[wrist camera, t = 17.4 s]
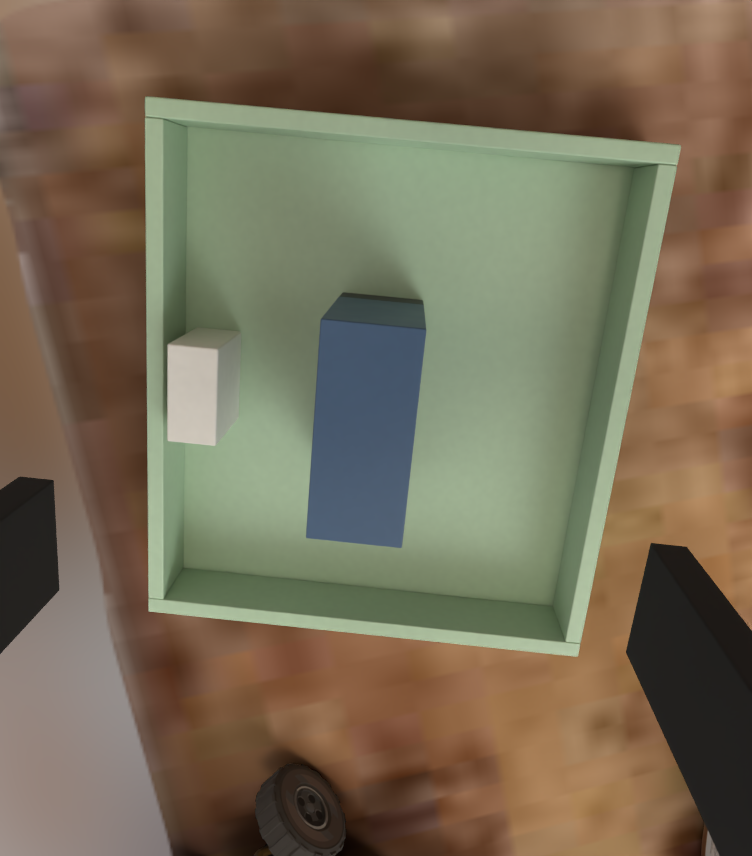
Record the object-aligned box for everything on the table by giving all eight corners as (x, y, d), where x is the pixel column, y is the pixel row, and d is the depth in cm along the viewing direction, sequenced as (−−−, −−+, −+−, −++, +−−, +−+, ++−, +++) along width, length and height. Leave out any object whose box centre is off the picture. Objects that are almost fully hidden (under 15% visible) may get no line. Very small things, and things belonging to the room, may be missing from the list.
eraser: (342, 291, 31) (320, 318, 24) (423, 299, 31) (426, 328, 23) (328, 466, 33) (305, 538, 26) (404, 474, 33) (402, 548, 26)
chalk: (241, 331, 31) (196, 326, 31) (218, 348, 28) (166, 343, 28) (238, 418, 33) (195, 413, 33) (216, 446, 29) (166, 441, 29)
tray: (175, 108, 29) (144, 95, 26) (650, 151, 29) (682, 144, 26) (173, 572, 36) (148, 611, 32) (562, 613, 35) (578, 657, 32)
